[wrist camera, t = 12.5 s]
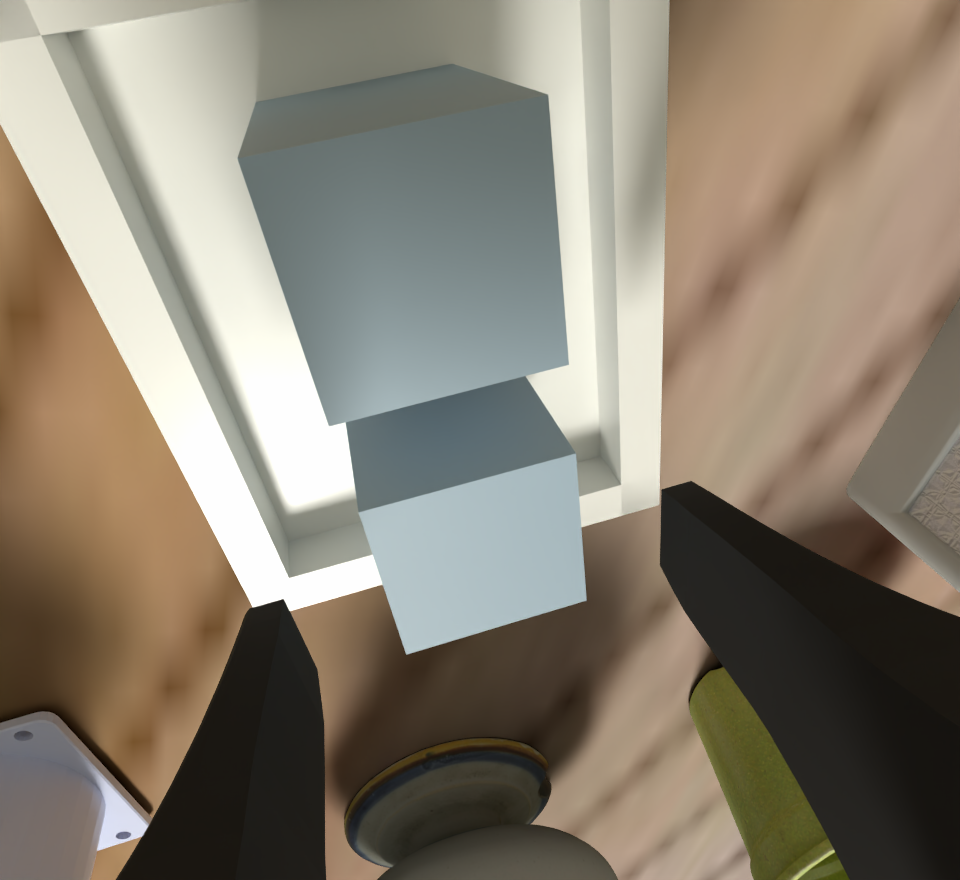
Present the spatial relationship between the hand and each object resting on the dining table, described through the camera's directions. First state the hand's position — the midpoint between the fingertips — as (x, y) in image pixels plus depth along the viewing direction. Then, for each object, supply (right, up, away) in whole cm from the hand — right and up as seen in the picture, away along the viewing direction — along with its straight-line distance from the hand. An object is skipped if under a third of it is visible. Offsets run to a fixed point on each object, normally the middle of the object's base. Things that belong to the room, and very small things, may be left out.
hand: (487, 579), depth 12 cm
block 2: (-2, +3, +5) cm, 7 cm away
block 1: (-2, +8, +2) cm, 9 cm away
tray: (-2, +7, +4) cm, 8 cm away
